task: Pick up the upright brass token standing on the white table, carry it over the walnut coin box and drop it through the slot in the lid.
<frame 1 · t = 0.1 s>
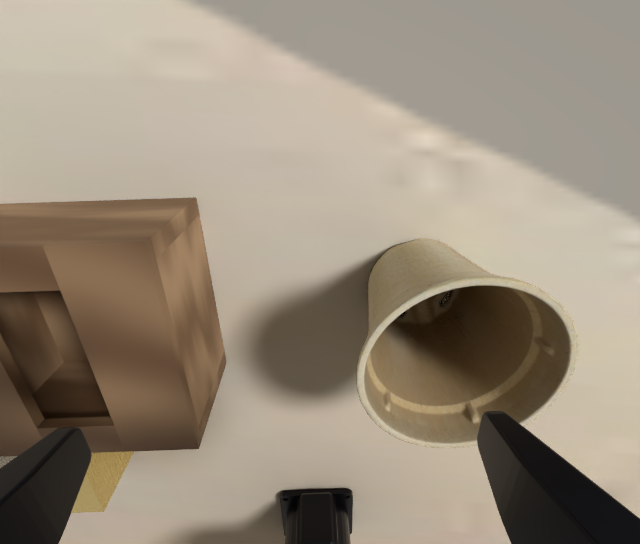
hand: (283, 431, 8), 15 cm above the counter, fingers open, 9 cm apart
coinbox: (119, 292, 23), on the counter
flower pot: (412, 280, 23), on the counter
token: (111, 425, 28), on the counter
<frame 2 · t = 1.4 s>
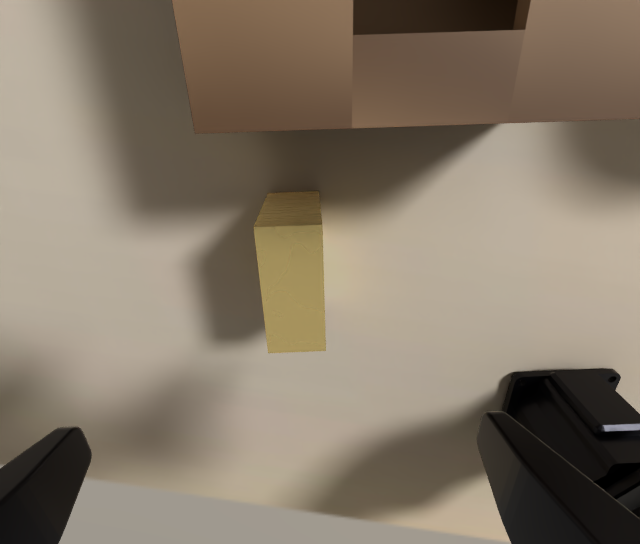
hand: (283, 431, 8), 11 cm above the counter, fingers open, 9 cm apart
token: (296, 245, 18), on the counter
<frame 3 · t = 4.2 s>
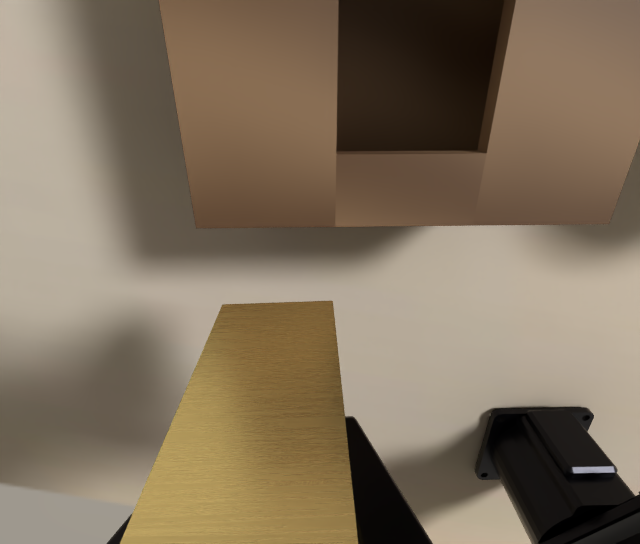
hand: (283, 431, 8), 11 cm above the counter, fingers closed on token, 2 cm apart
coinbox: (378, 23, 14), on the counter
token: (286, 396, 9), point 10 cm above the counter, touching gripper
when the fingers open (7 cm above the counter, at t = 5.5 s): token drops 6 cm, resting on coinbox.
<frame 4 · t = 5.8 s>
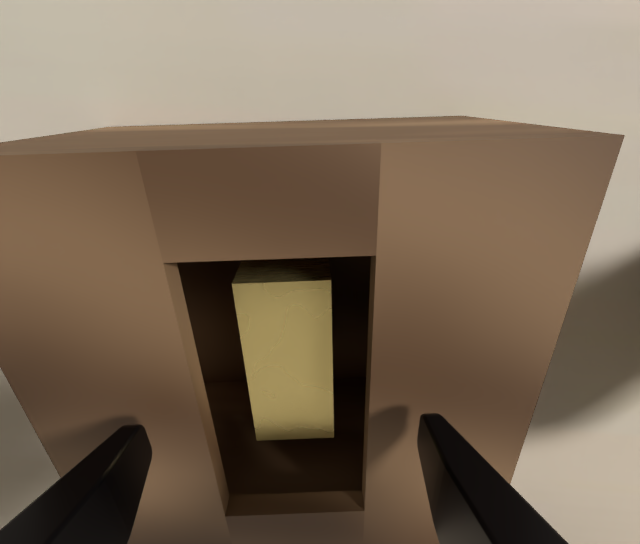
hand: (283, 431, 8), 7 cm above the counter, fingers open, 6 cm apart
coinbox: (296, 278, 15), on the counter
token: (296, 284, 14), resting on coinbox
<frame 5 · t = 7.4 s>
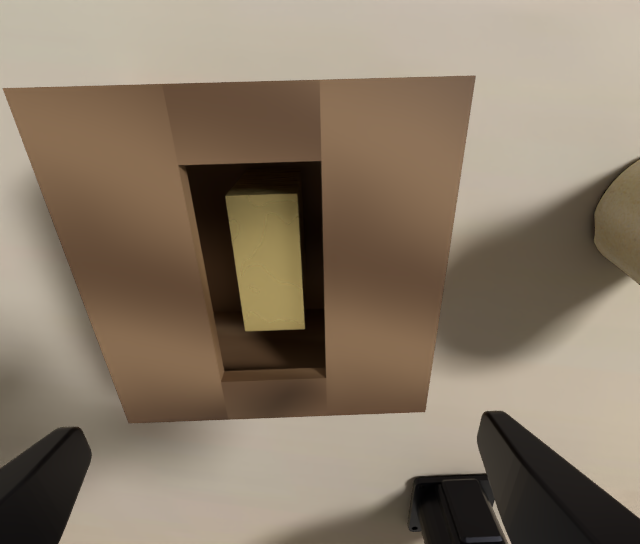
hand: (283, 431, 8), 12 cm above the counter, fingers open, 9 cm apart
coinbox: (279, 220, 18), on the counter
token: (279, 224, 18), resting on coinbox
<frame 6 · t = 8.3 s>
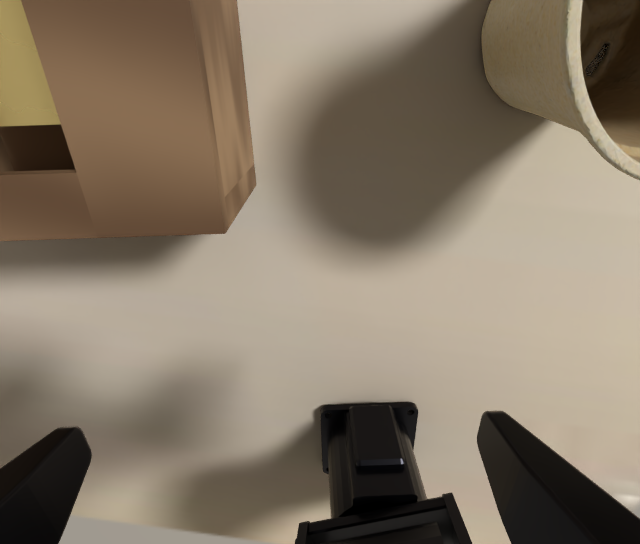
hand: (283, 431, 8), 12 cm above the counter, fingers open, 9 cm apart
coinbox: (96, 44, 15), on the counter
flower pot: (547, 32, 15), on the counter
token: (90, 43, 14), resting on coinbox
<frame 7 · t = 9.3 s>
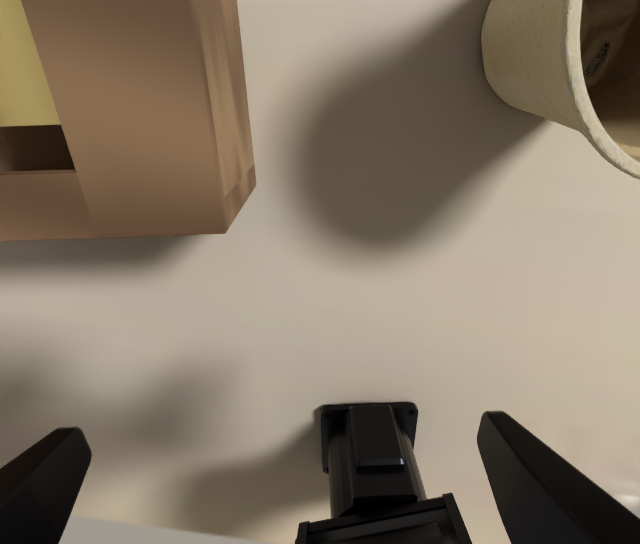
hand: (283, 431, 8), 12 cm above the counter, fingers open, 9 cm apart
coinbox: (96, 44, 15), on the counter
flower pot: (547, 32, 15), on the counter
token: (90, 43, 14), resting on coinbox
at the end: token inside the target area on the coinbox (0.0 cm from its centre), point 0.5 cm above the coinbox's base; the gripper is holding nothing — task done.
